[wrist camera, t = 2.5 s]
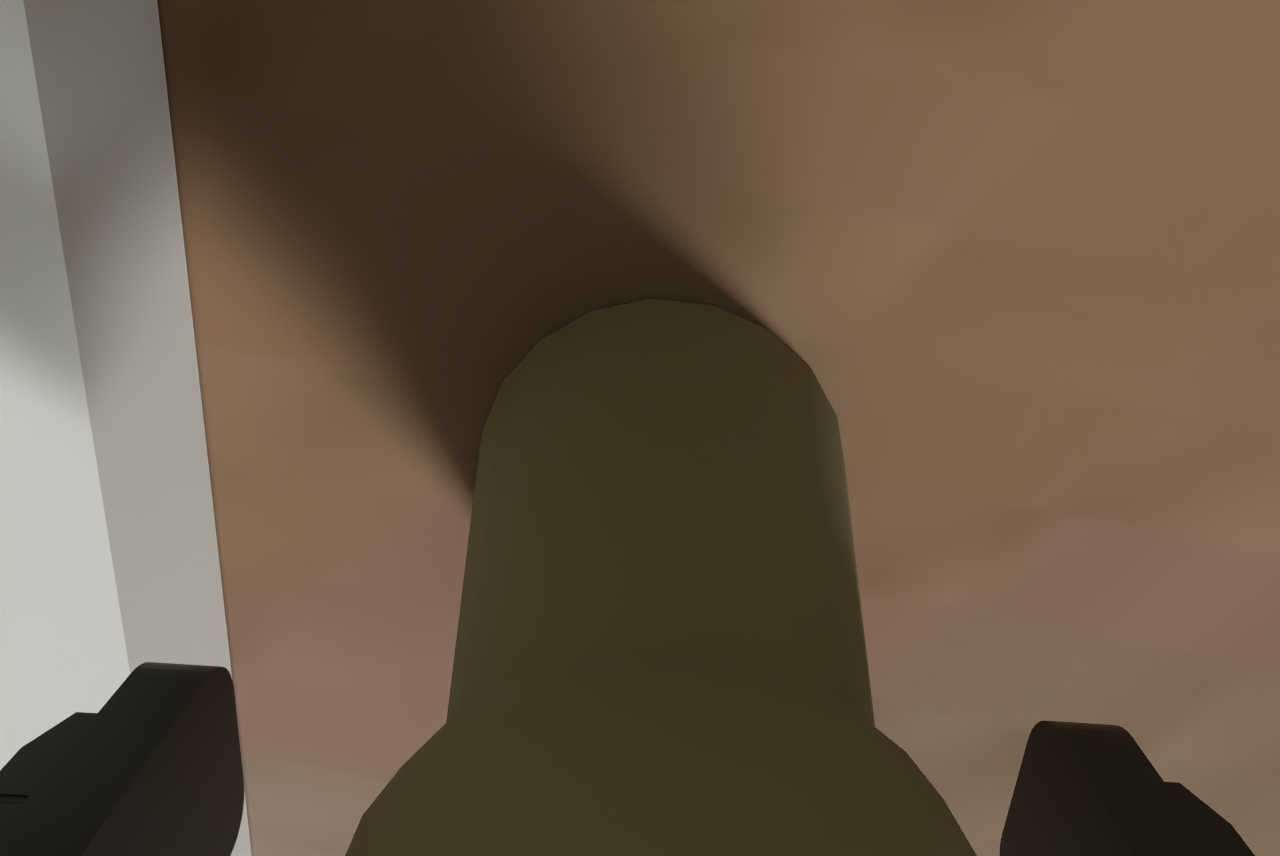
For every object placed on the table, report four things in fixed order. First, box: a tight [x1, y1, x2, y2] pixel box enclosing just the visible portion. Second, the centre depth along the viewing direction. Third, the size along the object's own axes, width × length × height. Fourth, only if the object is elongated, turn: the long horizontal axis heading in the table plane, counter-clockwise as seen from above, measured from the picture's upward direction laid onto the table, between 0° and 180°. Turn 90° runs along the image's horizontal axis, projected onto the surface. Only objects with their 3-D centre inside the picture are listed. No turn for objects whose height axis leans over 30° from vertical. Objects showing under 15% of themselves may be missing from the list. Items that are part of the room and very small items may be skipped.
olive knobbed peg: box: [345, 298, 977, 856], centre depth 11 cm, size 6×6×11 cm
